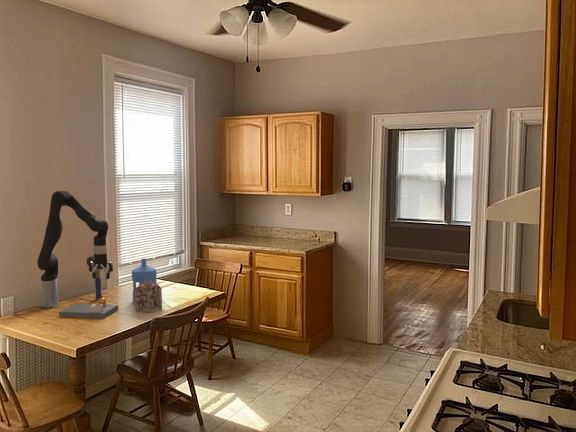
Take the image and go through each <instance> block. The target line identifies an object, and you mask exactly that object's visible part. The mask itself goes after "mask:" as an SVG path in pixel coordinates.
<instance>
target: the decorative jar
mask: <svg viewBox="0 0 576 432" xmlns="http://www.w3.org/2000/svg"><path fill="white" fill-rule="evenodd" d="M162 295H163V293H162V287H161V286H160V285H159V284H158V283H152V281H145V282H144V283H143V284H140V285H139V284H138V285H137V286H136V289H135V303H134V305H135V311H136V312H138V313H139V312H140V313H146V314H151V313H153V312H157V311H160V310H162V309H163V296H162Z"/></svg>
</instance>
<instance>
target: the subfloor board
mask: <svg viewBox="0 0 576 432" xmlns="http://www.w3.org/2000/svg"><path fill="white" fill-rule="evenodd" d="M93 304H94V303H93ZM93 304H92V303H75V304H73V305H70V306H68V307H66V308H64V309H63V310H60V311H59V312H58V316H59V318H79V319H80V318H82V319H84V318H85V319H105V318H107V317H108V316H110V315H112V314H114V313H115V312H117V311H118V310H119V305H118V304H106V305H105V307H103V308H104V310H103V311H101V312H90V306H91V305H93Z"/></svg>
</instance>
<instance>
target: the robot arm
mask: <svg viewBox="0 0 576 432" xmlns="http://www.w3.org/2000/svg"><path fill="white" fill-rule="evenodd" d="M62 207H69V208H70V209H72V210H73V211H74V213H75V215H76V216H77V217H78V219H80V220H81V221H82V222H84V223H85V224H86V226H87V227H88V228H89V230H91V231H92V232H95V233H97V234H96V235H95V236H93V256H94V262H93V261H91V262H89V266H88V271H89V272H91V275H92V277H91V278H92V279H94V280H95V279H96V270H97V269H100V270H104V272H105V273H106V274H105V276H106V280H109V279H110V278H111V273H113V271H114V267H113V262H112V261H110V262H109V261H108V248H107V236H108V232H109V231H108V230H109V223H108V222H107V220H106V219H104V218H102V219H96V218H97V217H96V215H95V213H94V212H92V211H90V210H89V209H87V208H86V207H85V206H84V205H82V204H81V203H80V202H79V201H78V200H77V198H76V197H74V195H73V194H72V193H71V192H69V191H66V190H57V191H54V192H53V193H52V195H51V197H50V205H49V214H48V218H47V219H48V220H47V224H46V227H45V232H44V238H43V240H42V241H43V242H42V246H41V249H40V252H39V255H38V257H37V261H36V263H37V267H38V269H39V270H41V271H44V272H43V274H41V277H40V283H41V291H40V295H39V296H40V307H41V308H43V307H44V308H43V309H50V307H52V308H55V307H58V306H59V289H58V275H59V260H58V257H57V255H55V254H53V251H54V248H55V247H56V246H57V244H58V242H59V241H60V239H61V237H62V234H63V228H64V224H63V222H62V218H61V211H62ZM93 265H95V267H93Z"/></svg>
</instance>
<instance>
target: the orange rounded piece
mask: <svg viewBox="0 0 576 432" xmlns="http://www.w3.org/2000/svg"><path fill="white" fill-rule="evenodd" d="M98 304H103V307H105V305H107V300H106V297H102V298H99V299H98Z"/></svg>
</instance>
